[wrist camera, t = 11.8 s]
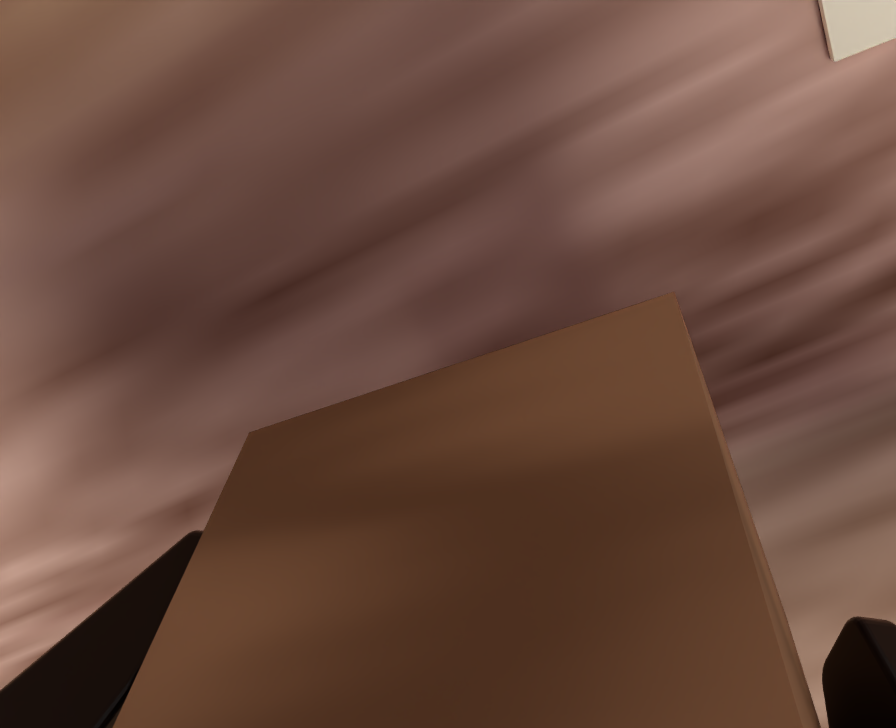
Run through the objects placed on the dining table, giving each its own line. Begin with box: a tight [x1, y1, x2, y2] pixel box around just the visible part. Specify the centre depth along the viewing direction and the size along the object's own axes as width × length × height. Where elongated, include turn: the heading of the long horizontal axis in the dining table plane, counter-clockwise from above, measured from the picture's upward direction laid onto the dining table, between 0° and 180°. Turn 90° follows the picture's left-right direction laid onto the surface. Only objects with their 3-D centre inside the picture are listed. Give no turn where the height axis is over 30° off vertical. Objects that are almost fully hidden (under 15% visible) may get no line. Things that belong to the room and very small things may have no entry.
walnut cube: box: [113, 292, 821, 728], centre depth 8 cm, size 5×5×5 cm
